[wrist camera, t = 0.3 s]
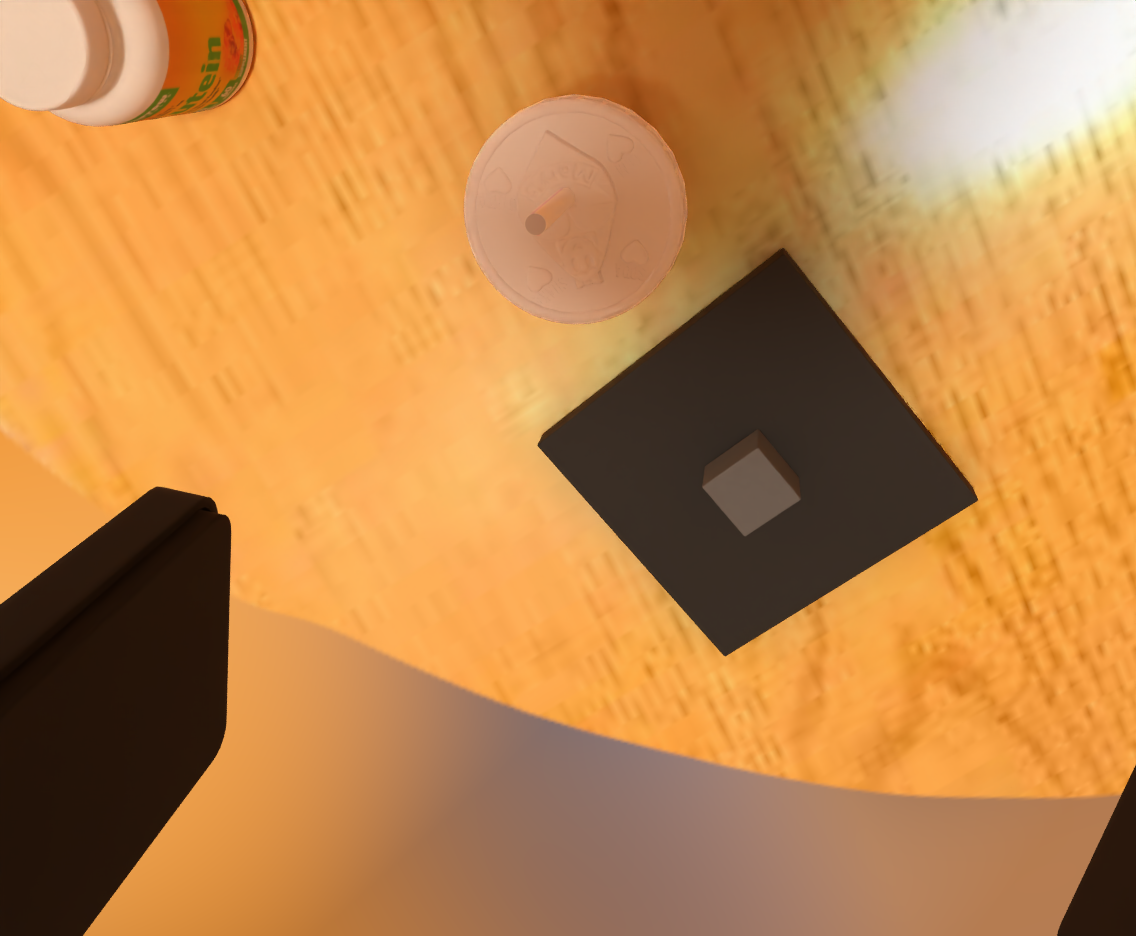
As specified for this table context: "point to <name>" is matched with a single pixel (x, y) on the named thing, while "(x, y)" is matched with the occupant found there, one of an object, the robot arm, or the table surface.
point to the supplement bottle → (122, 57)
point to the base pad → (804, 418)
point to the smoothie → (575, 209)
